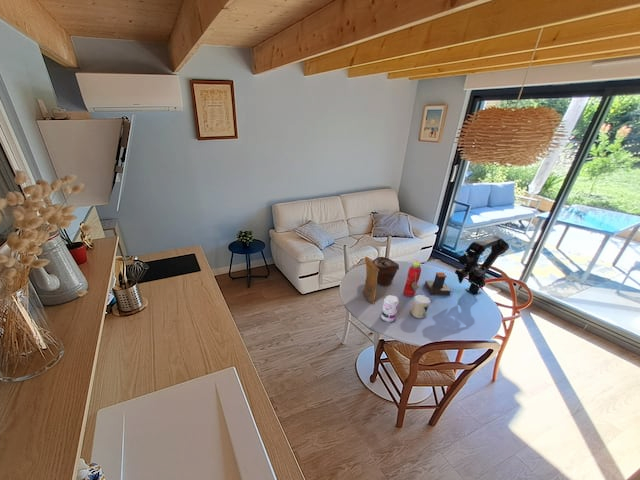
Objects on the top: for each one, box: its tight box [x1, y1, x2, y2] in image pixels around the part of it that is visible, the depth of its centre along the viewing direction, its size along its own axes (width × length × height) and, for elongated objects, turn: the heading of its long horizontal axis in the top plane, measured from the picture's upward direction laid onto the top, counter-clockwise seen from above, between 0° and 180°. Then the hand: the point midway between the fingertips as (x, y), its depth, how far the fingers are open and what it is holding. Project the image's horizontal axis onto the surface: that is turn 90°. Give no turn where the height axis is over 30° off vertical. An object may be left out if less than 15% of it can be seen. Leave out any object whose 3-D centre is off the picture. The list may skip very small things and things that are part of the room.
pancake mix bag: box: [363, 255, 379, 304], centre depth 191 cm, size 7×19×28 cm, turn 2°
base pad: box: [424, 280, 452, 296], centre depth 203 cm, size 13×13×4 cm
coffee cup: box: [410, 294, 431, 319], centre depth 177 cm, size 9×9×12 cm
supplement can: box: [380, 294, 400, 323], centre depth 173 cm, size 8×8×15 cm
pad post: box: [433, 272, 447, 288], centre depth 201 cm, size 5×5×13 cm
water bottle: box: [403, 261, 422, 297], centre depth 192 cm, size 12×8×25 cm, turn 167°
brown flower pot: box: [372, 256, 400, 287], centre depth 211 cm, size 18×20×18 cm
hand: (464, 281), depth 191 cm, fingers open, 9 cm apart
